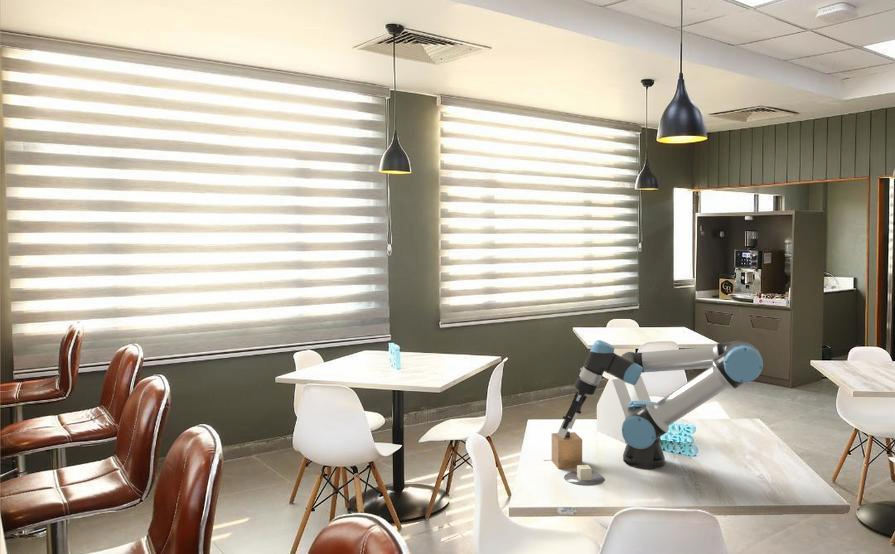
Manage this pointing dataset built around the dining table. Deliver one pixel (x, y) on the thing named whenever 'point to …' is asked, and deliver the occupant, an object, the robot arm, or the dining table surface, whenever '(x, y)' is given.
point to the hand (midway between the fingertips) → (564, 431)
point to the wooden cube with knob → (566, 450)
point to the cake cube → (584, 472)
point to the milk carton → (618, 405)
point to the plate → (574, 479)
